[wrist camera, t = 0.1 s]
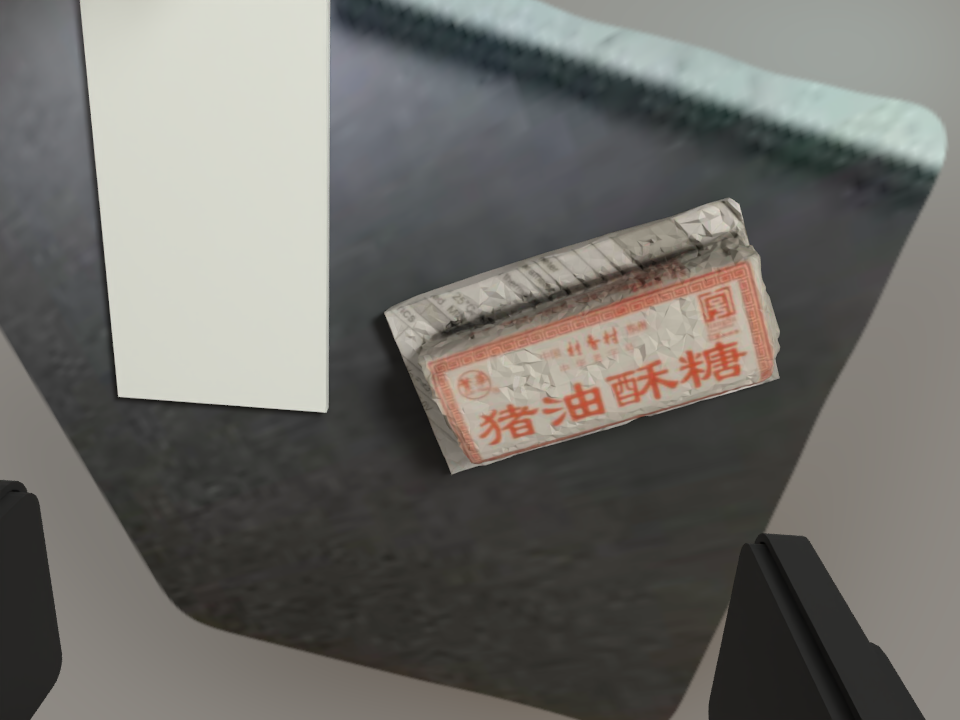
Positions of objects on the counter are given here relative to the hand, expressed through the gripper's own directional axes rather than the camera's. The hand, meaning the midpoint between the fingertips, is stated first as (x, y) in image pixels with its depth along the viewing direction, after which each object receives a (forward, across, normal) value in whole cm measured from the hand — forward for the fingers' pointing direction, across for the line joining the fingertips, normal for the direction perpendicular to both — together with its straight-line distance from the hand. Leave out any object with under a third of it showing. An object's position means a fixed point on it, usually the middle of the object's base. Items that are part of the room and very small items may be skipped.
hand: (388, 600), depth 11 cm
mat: (+31, +12, +1) cm, 34 cm away
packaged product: (+32, -6, +7) cm, 33 cm away
